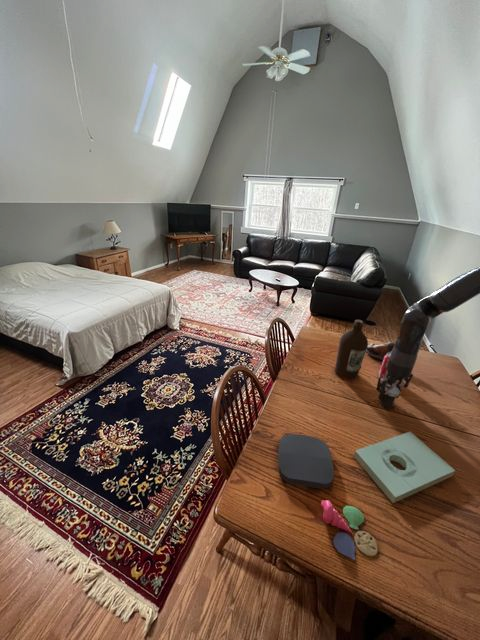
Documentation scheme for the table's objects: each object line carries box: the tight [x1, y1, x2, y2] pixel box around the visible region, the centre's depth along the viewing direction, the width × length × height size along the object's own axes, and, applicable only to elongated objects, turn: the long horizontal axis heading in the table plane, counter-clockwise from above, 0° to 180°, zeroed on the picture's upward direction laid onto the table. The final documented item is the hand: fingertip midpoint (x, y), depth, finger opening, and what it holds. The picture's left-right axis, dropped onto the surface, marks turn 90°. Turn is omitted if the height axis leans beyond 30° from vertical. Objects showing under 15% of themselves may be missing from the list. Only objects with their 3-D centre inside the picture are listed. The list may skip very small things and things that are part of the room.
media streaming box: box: [277, 433, 335, 490], centre depth 75 cm, size 15×15×3 cm
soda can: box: [378, 351, 392, 378], centre depth 110 cm, size 7×7×12 cm
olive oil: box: [334, 319, 369, 381], centre depth 111 cm, size 11×11×25 cm
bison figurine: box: [365, 341, 396, 361], centre depth 127 cm, size 12×7×10 cm, turn 43°
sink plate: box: [353, 431, 456, 504], centre depth 76 cm, size 22×14×2 cm, turn 110°
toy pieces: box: [320, 500, 379, 561], centre depth 60 cm, size 12×11×4 cm
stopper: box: [380, 383, 401, 408], centre depth 98 cm, size 5×5×7 cm
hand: (388, 398), depth 99 cm, fingers open, 6 cm apart
